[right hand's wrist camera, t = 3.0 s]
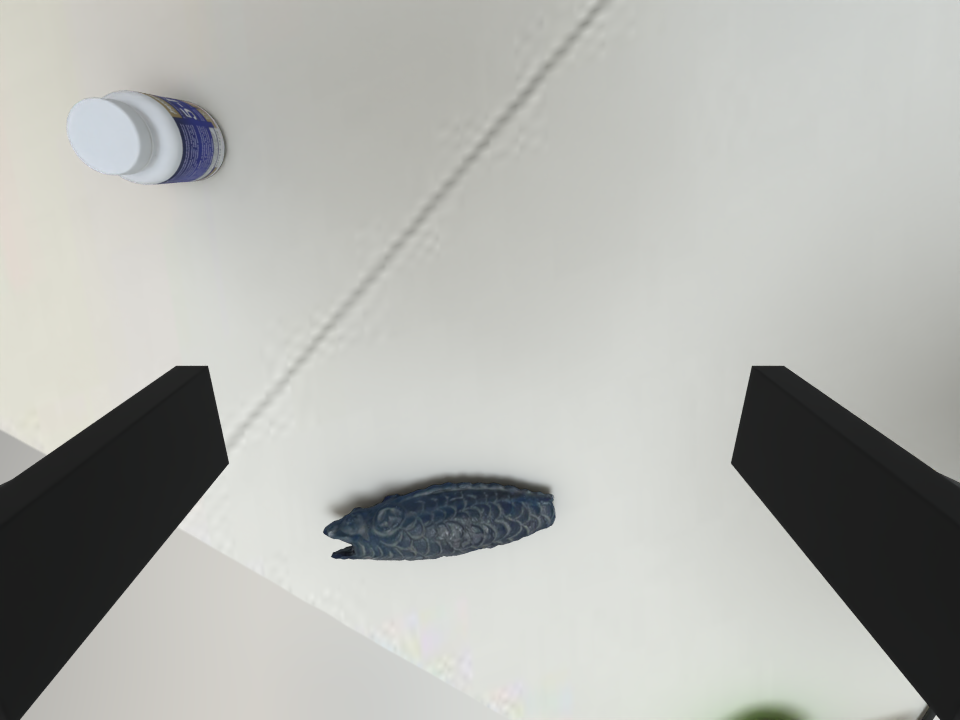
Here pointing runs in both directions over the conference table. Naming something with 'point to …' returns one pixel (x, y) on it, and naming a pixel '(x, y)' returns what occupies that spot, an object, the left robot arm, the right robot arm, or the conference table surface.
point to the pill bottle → (145, 138)
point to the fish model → (442, 522)
